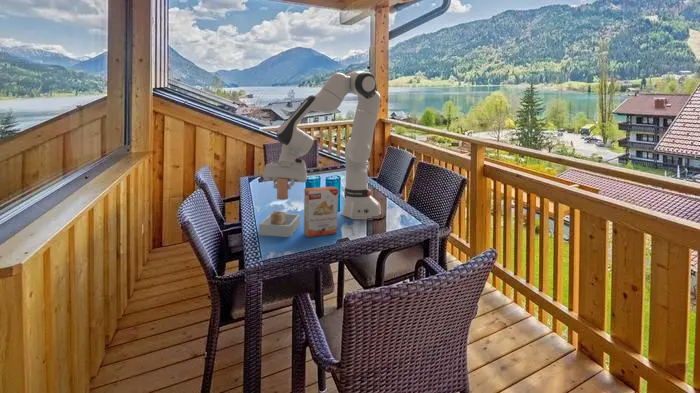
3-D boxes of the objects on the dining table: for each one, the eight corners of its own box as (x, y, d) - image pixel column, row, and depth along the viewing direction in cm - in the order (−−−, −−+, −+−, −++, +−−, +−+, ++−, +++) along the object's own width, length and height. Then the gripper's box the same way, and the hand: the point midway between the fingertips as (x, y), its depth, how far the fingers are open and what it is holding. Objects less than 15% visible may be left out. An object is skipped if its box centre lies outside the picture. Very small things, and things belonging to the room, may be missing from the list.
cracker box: (308, 238, 174) (308, 191, 169) (303, 233, 180) (303, 188, 174) (337, 233, 181) (338, 188, 176) (332, 229, 186) (332, 185, 181)
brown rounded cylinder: (289, 197, 187) (289, 178, 185) (286, 200, 182) (286, 180, 180) (278, 196, 187) (278, 177, 185) (275, 199, 183) (275, 179, 180)
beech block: (285, 228, 182) (284, 211, 180) (282, 232, 177) (281, 215, 176) (274, 228, 183) (274, 211, 181) (271, 231, 178) (270, 214, 176)
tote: (300, 224, 192) (300, 214, 191) (290, 237, 175) (290, 226, 174) (272, 222, 194) (271, 212, 192) (259, 235, 176) (258, 224, 175)
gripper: (264, 158, 188) (258, 183, 181) (307, 160, 186) (302, 185, 179) (267, 166, 194) (261, 190, 187) (309, 168, 192) (304, 193, 185)
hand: (282, 188), depth 183 cm, fingers closed on brown rounded cylinder, 5 cm apart
